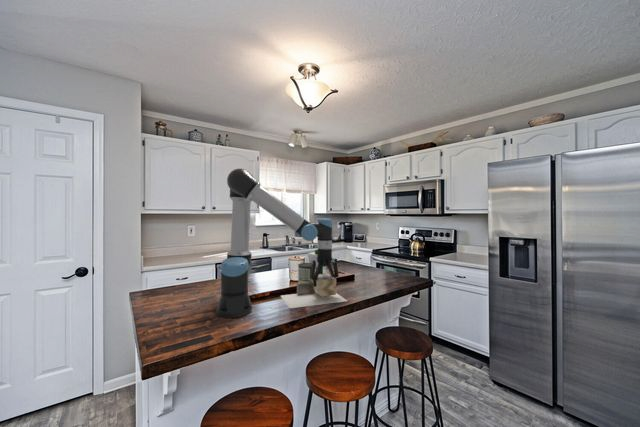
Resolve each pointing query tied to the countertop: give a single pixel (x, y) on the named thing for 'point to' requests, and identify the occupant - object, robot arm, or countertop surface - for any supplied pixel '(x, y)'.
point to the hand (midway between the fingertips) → (324, 291)
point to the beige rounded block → (326, 285)
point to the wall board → (310, 300)
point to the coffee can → (304, 273)
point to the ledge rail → (305, 289)
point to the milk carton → (312, 257)
